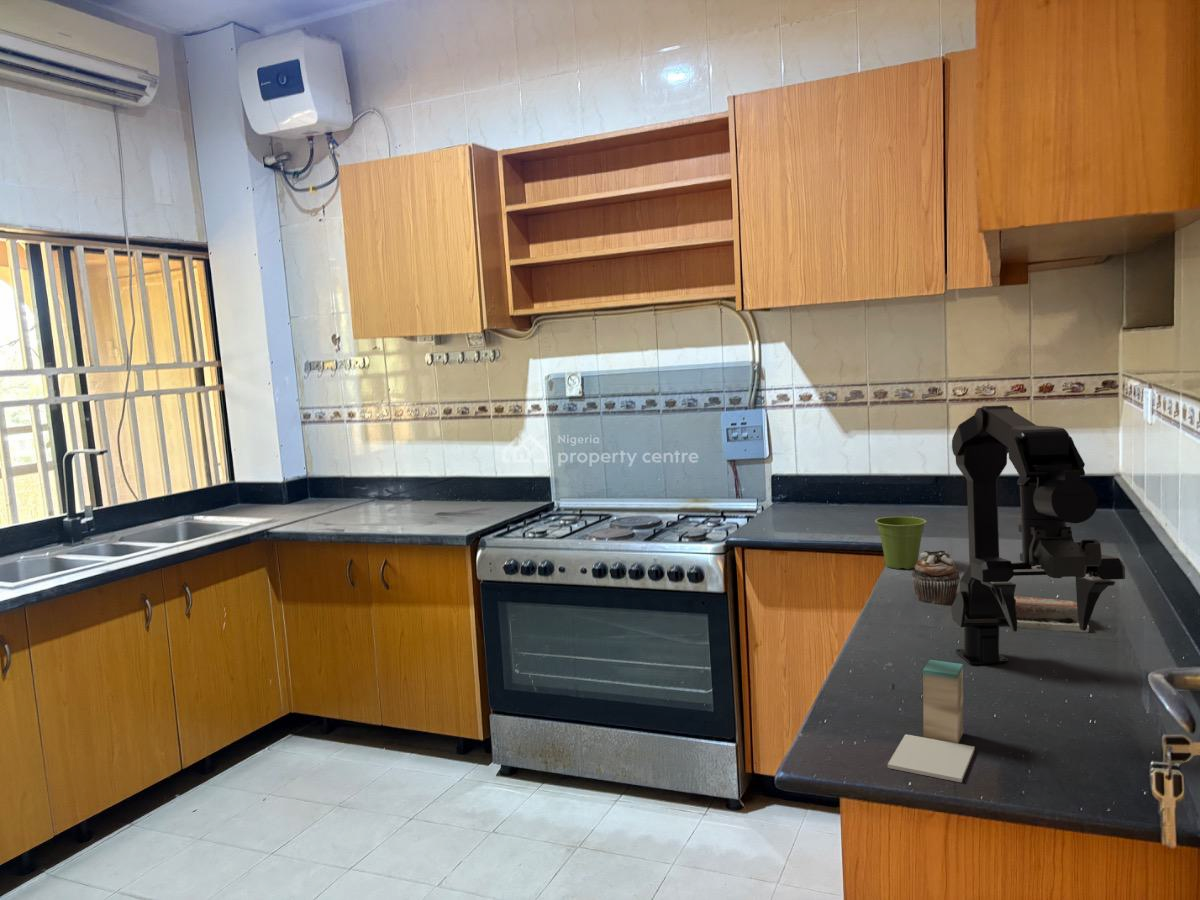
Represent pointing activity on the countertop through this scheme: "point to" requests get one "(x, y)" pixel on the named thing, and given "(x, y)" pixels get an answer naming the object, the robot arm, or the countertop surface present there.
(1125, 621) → the countertop surface
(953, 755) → the mat
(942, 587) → the cupcake
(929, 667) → the block
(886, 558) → the plant pot
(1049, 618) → the stepped brick
